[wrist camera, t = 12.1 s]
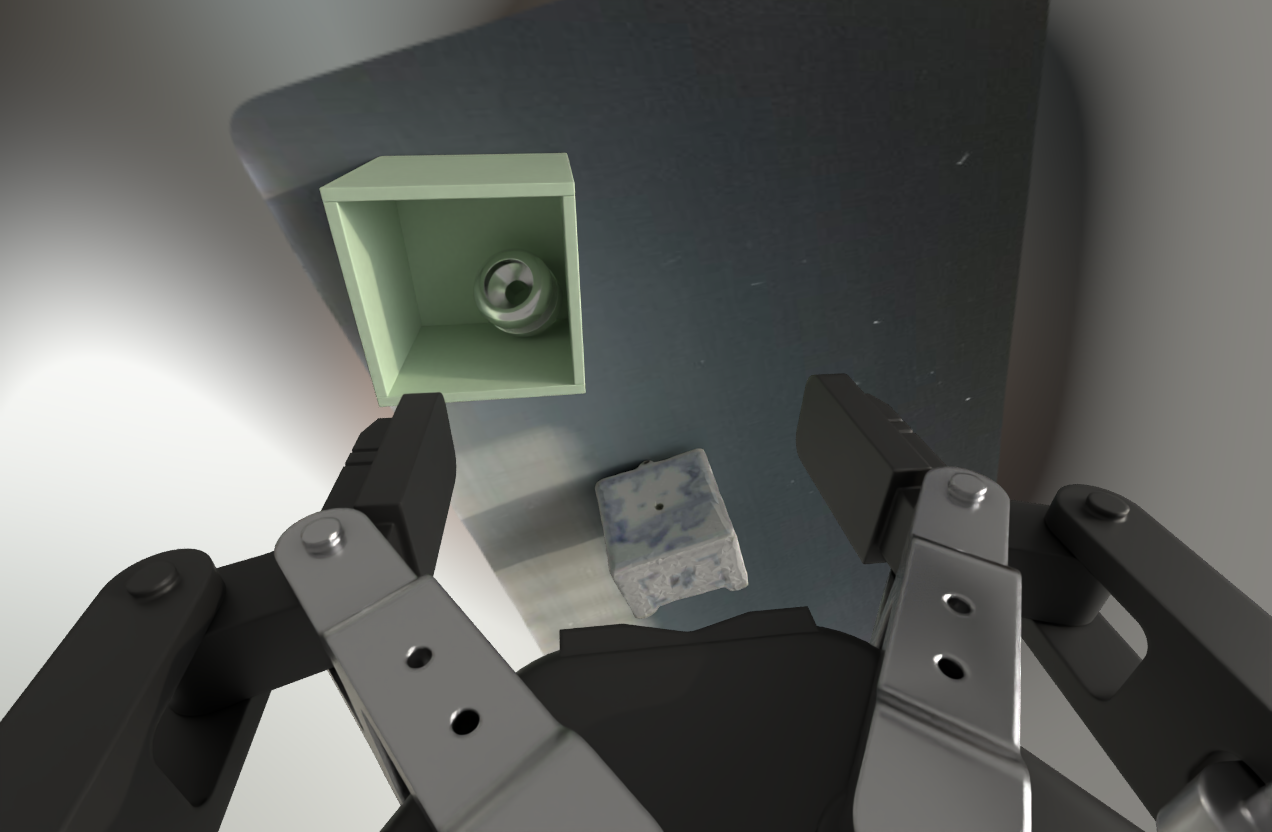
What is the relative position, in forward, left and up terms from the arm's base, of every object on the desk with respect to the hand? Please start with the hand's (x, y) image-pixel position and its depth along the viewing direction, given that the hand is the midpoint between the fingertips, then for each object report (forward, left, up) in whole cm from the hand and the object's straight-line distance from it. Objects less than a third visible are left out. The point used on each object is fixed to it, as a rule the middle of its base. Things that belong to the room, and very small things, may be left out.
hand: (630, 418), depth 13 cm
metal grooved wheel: (+4, -6, -26) cm, 27 cm away
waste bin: (+3, -6, -28) cm, 29 cm away
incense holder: (+25, +6, -28) cm, 39 cm away
